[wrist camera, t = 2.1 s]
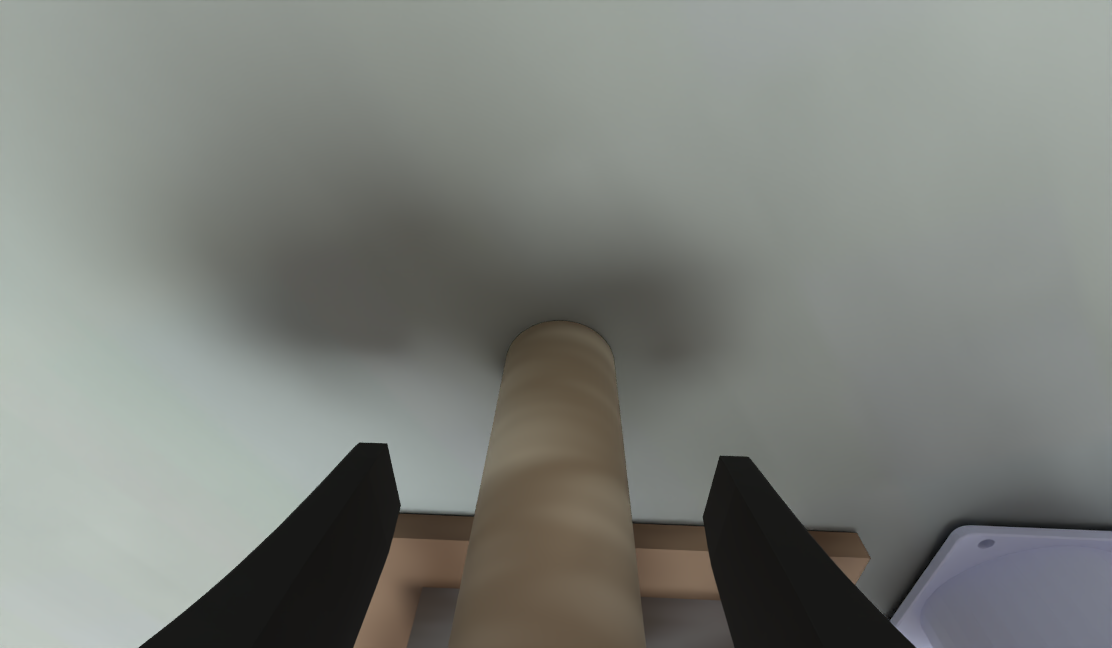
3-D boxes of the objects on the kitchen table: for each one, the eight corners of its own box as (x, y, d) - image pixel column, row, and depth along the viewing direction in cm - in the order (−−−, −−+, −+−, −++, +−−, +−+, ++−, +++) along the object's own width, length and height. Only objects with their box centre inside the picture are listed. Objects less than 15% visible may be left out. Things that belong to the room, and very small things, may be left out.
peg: (619, 322, 14) (689, 815, 5) (610, 410, 16) (652, 889, 7) (503, 318, 14) (390, 798, 5) (507, 406, 16) (426, 877, 7)
